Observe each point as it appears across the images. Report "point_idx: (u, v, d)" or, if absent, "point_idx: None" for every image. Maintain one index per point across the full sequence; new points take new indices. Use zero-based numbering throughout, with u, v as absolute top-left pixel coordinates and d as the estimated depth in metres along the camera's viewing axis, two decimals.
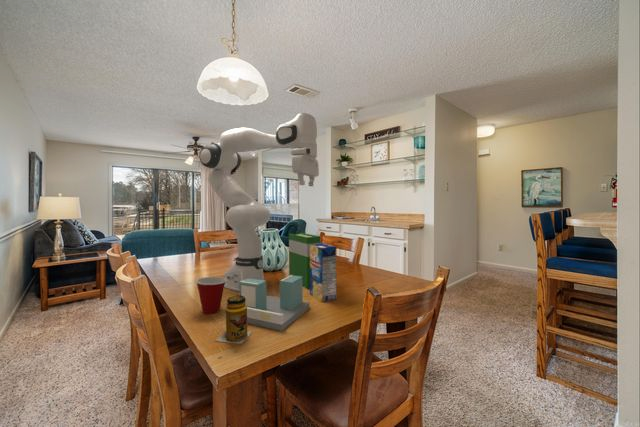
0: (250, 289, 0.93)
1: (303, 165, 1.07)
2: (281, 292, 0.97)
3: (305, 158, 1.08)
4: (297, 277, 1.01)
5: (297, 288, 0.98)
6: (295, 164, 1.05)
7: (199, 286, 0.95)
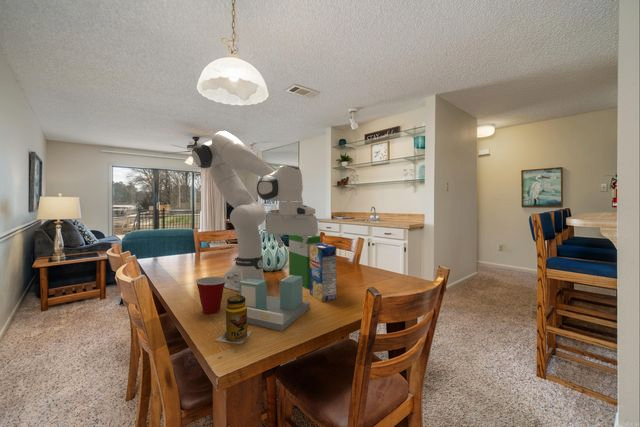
0: (250, 289, 0.93)
1: None
2: (281, 292, 0.97)
3: None
4: (297, 277, 1.01)
5: (297, 288, 0.98)
6: (315, 226, 0.94)
7: (199, 286, 0.95)
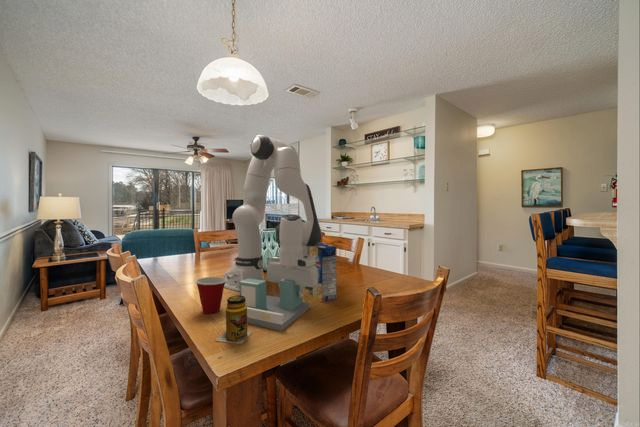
0: (250, 289, 0.93)
1: None
2: (281, 292, 0.97)
3: None
4: None
5: (297, 288, 0.98)
6: (315, 278, 0.95)
7: (199, 286, 0.95)
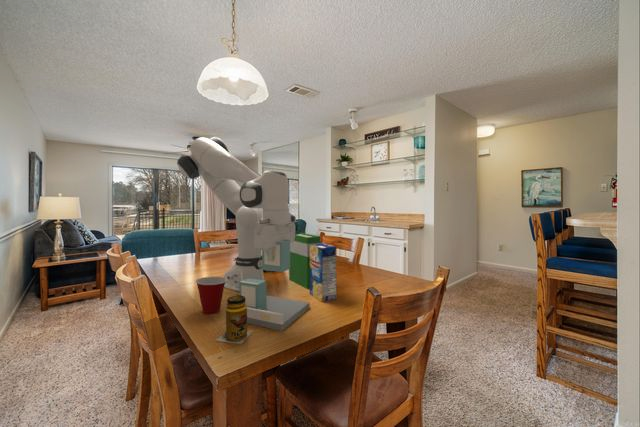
0: (250, 289, 0.93)
1: None
2: (283, 254, 0.88)
3: None
4: None
5: None
6: None
7: (199, 286, 0.95)
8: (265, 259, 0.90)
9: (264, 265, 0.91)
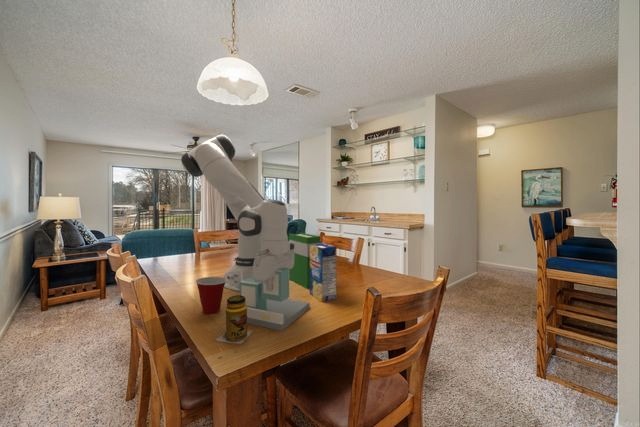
0: (250, 289, 0.93)
1: None
2: (282, 283, 0.88)
3: None
4: None
5: None
6: None
7: (199, 286, 0.95)
8: (264, 288, 0.90)
9: (263, 294, 0.91)
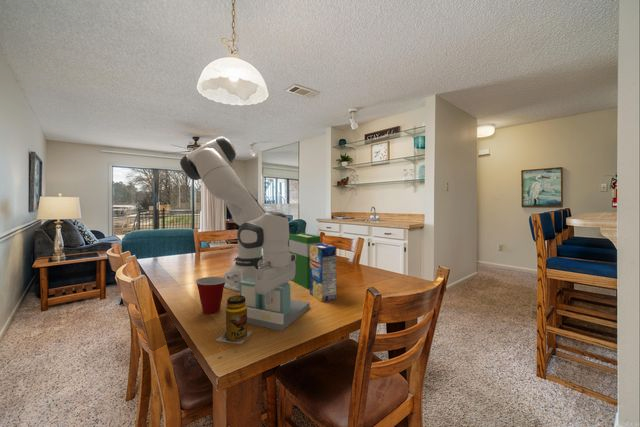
0: (250, 289, 0.93)
1: None
2: (283, 300, 0.89)
3: None
4: None
5: None
6: None
7: (199, 286, 0.95)
8: (265, 304, 0.91)
9: None
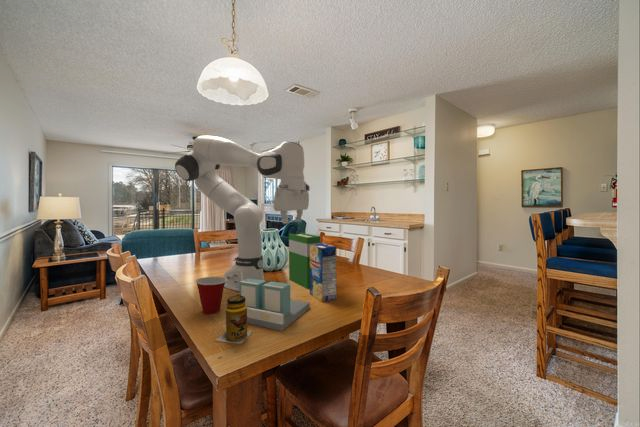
0: (250, 289, 0.93)
1: None
2: (283, 300, 0.89)
3: None
4: (272, 282, 0.94)
5: None
6: None
7: (199, 286, 0.95)
8: (265, 304, 0.91)
9: None
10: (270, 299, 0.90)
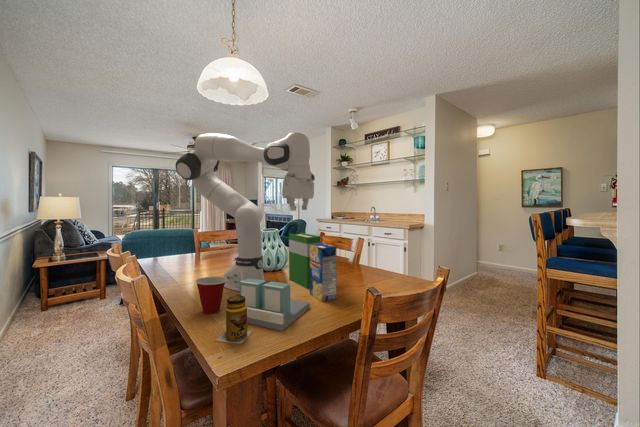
0: (250, 289, 0.93)
1: None
2: (283, 300, 0.89)
3: None
4: (272, 282, 0.94)
5: None
6: None
7: (199, 286, 0.95)
8: (265, 304, 0.91)
9: None
10: (270, 299, 0.90)
